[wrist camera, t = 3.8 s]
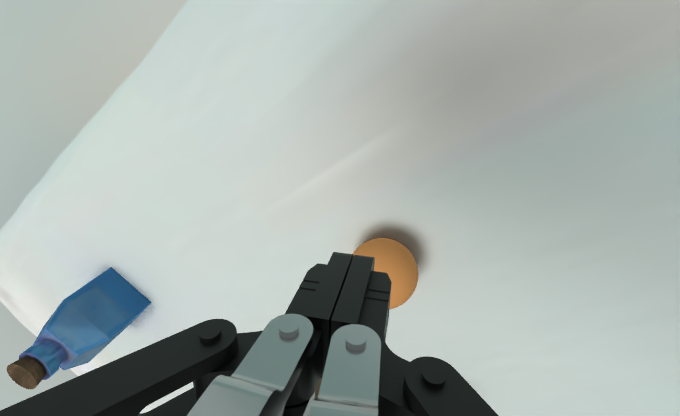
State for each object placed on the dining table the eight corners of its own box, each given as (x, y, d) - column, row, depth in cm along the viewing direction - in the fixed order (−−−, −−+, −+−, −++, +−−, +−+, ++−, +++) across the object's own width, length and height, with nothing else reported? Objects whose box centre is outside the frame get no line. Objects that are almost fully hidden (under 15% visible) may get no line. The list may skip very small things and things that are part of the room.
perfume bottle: (111, 267, 42) (3, 341, 31) (151, 302, 43) (59, 386, 32) (91, 292, 45) (-15, 368, 34) (129, 324, 46) (37, 408, 35)
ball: (355, 222, 32) (340, 256, 27) (422, 230, 31) (421, 267, 26) (353, 277, 35) (339, 318, 29) (415, 286, 34) (413, 330, 28)
